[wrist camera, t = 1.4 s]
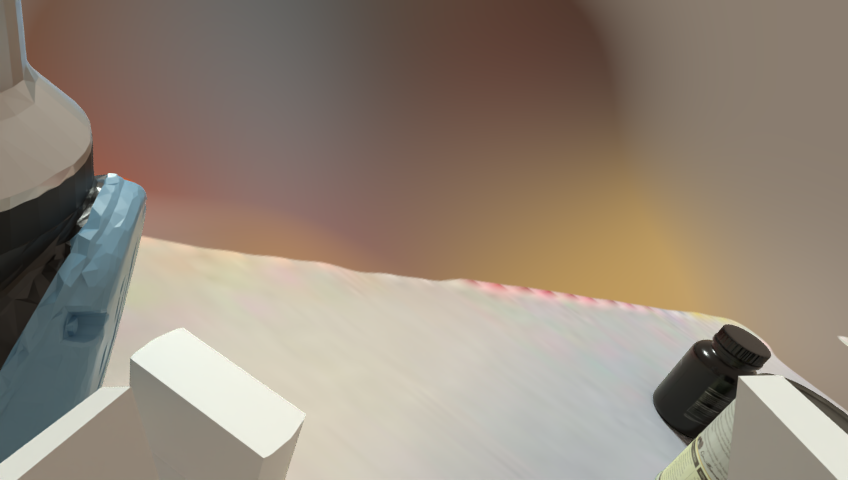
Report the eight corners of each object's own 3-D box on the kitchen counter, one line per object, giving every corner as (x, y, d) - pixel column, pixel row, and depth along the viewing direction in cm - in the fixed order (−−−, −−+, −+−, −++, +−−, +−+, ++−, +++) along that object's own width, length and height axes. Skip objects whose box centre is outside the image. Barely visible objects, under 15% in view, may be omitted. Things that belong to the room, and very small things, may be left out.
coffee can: (719, 476, 47) (823, 385, 40) (792, 597, 38) (942, 506, 31) (633, 460, 44) (727, 360, 38) (689, 583, 36) (825, 482, 29)
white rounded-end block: (71, 532, 26) (60, 393, 20) (202, 423, 33) (221, 299, 28) (190, 639, 24) (215, 519, 18) (301, 497, 31) (343, 381, 26)
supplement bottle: (716, 427, 53) (790, 355, 47) (695, 451, 49) (775, 375, 43) (663, 382, 57) (726, 311, 51) (640, 400, 52) (705, 325, 47)
